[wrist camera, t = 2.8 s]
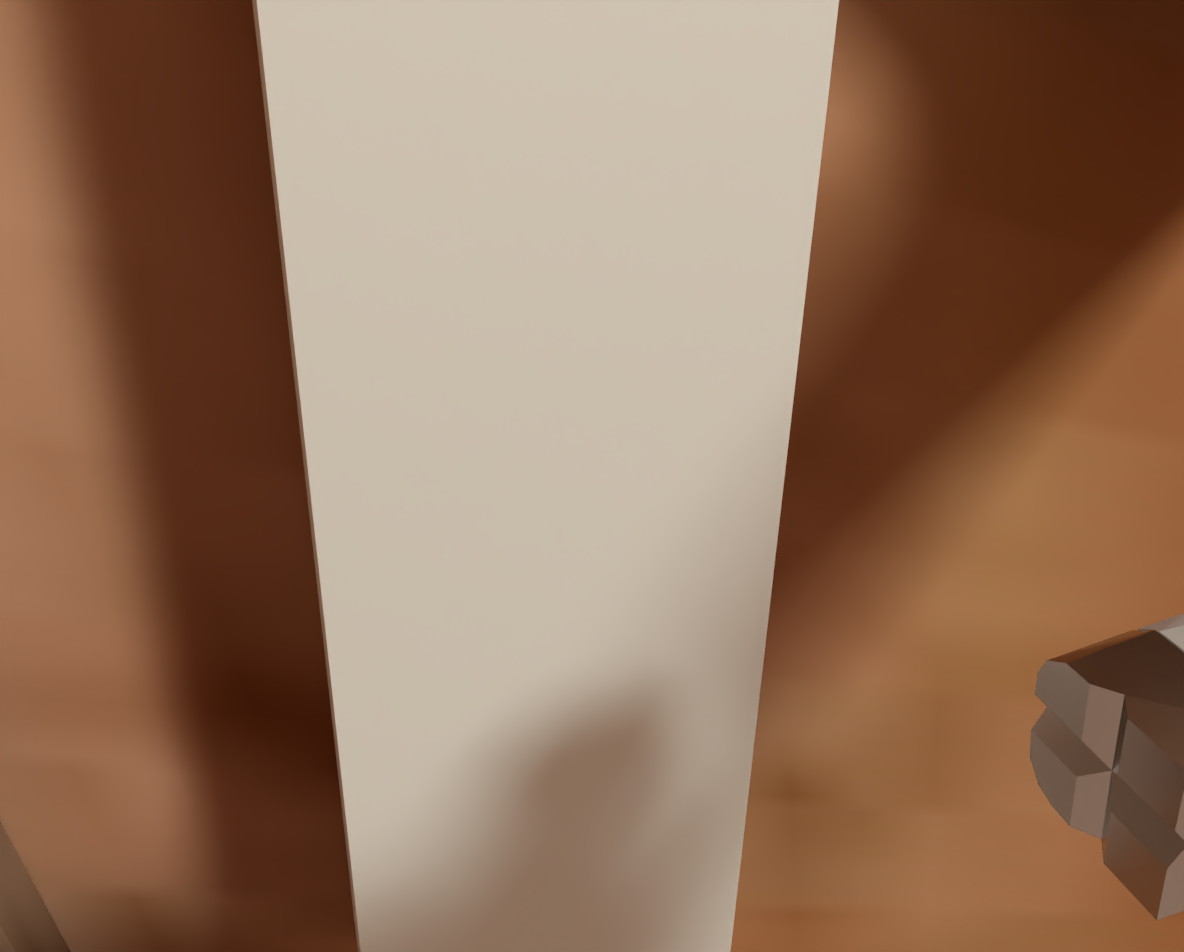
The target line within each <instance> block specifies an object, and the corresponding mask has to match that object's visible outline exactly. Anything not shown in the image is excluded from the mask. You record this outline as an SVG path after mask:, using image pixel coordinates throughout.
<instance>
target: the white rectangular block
mask: <svg viewBox="0 0 1184 952" xmlns="http://www.w3.org/2000/svg"><path fill="white" fill-rule="evenodd" d="M252 5H253V14H254V23H255V32H256V41H257V50H258V59H259V68H260V77H261V86H262V95H263V104H264V113H265V122H266V131H267V140H268V149H269V158H270V167H271V176H272V185H273V194H274V203H275V212H276V221H277V230H278V239H279V248H280V257H281V266H282V275H283V284H284V293H285V302H286V311H287V320H288V329H289V338H290V347H291V356H292V365H293V374H294V383H295V392H296V401H297V410H298V419H299V428H300V437H301V446H302V455H303V464H304V473H305V482H306V491H307V500H308V509H309V518H310V527H311V536H312V545H313V554H314V563H315V572H316V581H317V590H318V599H319V608H320V617H321V626H322V635H323V644H324V653H325V662H326V671H327V680H328V689H329V698H330V707H331V716H332V725H333V734H334V743H335V752H336V761H337V770H338V779H339V788H340V797H341V806H342V815H343V824H344V833H345V842H346V851H347V860H348V869H349V878H350V887H351V896H352V905H353V914H354V923H355V932H356V941H357V949H358V952H730V950H731V942H732V933H733V924H734V915H735V907H736V898H737V889H738V880H739V872H740V863H741V854H742V845H743V837H744V828H745V819H746V810H747V802H748V793H749V784H750V775H751V767H752V758H753V749H754V740H755V732H756V723H757V714H758V705H759V697H760V688H761V679H762V670H763V662H764V653H765V644H766V635H767V627H768V618H769V609H770V601H771V592H772V583H773V574H774V566H775V557H776V548H777V539H778V531H779V522H780V513H781V504H782V496H783V487H784V478H785V469H786V461H787V452H788V443H789V434H790V426H791V417H792V408H793V399H794V391H795V382H796V373H797V364H798V356H799V347H800V338H801V329H802V321H803V312H804V303H805V294H806V286H807V277H808V268H809V259H810V251H811V242H812V233H813V225H814V216H815V207H816V198H817V190H818V181H819V172H820V163H821V155H822V146H823V137H824V128H825V120H826V111H827V102H828V93H829V85H830V76H831V67H832V58H833V50H834V41H835V32H836V23H837V15H838V6H839V0H252Z"/></svg>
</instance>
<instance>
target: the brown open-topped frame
mask: <svg viewBox="0 0 1184 952" xmlns="http://www.w3.org/2000/svg"><path fill="white" fill-rule="evenodd" d="M0 952H70V951H69V949H68V947H67V945H66V944H65V942H64V940H63V938H62V936H61V934H60V932H59V931H58V929H57V927H56V925H55V923H54V921H53V919H52V918H51V916H50V914H49V912H48V910H47V908H46V907H45V905H44V903H43V901H42V899H41V897H40V895H39V894H38V892H37V890H36V888H35V886H34V884H33V883H32V881H31V879H30V877H29V875H28V873H27V871H26V870H25V868H24V866H23V864H22V862H21V860H20V859H19V857H18V855H17V853H16V851H15V849H14V847H13V846H12V844H11V842H10V840H9V838H8V836H7V834H6V833H5V831H4V829H3V827H2V825H1V823H0Z"/></svg>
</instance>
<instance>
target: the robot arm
mask: <svg viewBox="0 0 1184 952" xmlns="http://www.w3.org/2000/svg"><path fill="white" fill-rule="evenodd" d="M1035 694H1036V696H1037V697H1038V698H1039V699H1040V700H1041V701H1042V702H1043V703H1044V704H1045V705H1046V706H1047V708H1046V709H1045V711H1044V712H1043V714H1042V715H1041V717H1040V718H1039V719H1038V721H1037V722H1036V724H1035V725H1034V727H1033V728H1032V730H1031V744H1030V759H1031V762H1032V765H1033V768H1034V771H1035V774H1036V778H1037V781H1038V784H1039V786H1040V788H1041V789H1042V791H1043V792H1044V794H1045V796H1046V797H1047V799H1048V801H1049V802H1050V804H1051V806H1052V807H1053V808H1054V809H1055V810H1056V811H1057V812H1058V813H1059V815H1060V816H1061V817H1062V818H1063V819H1064V820H1065V821H1066V822H1067V824H1068V825H1069V826H1070V827H1073V828H1075V829H1078V830H1080V831H1082V832H1085V833H1087V834H1090V835H1092V836H1095V837H1097V838H1100V839H1101V841H1102V851H1103V862H1104V864H1105V865H1106V866H1107V867H1108V868H1109V869H1110V871H1111V872H1112V873H1113V874H1114V875H1115V876H1116V877H1117V878H1118V879H1119V880H1120V881H1121V882H1122V883H1123V885H1124V886H1125V887H1126V888H1127V889H1128V890H1129V891H1130V892H1131V893H1132V894H1133V895H1134V896H1135V897H1136V899H1137V900H1138V901H1139V902H1140V903H1141V904H1142V905H1143V906H1144V907H1145V908H1146V909H1147V910H1148V911H1149V913H1150V914H1151V915H1152V916H1153V917H1154V918H1155V919H1156V920H1159V919H1162V918H1165V917H1167V916H1170V915H1173V914H1176V913H1178V912H1181V911H1184V613H1183V614H1180V615H1178V616H1175V617H1172V618H1169V619H1166V620H1163V621H1160V622H1157V623H1154V624H1151V625H1148V626H1145V627H1142V628H1140V629H1139V630H1132V631H1129V632H1126V633H1123V634H1120V635H1117V636H1115V637H1112V638H1109V639H1106V640H1103V641H1100V642H1098V643H1095V644H1092V645H1089V646H1086V647H1083V648H1080V649H1078V650H1075V651H1072V652H1069V653H1066V654H1063V655H1061V656H1058V657H1055V658H1052V659H1049V660H1046V662H1045V663H1044V665H1043V666H1042V667H1041V669H1040V670H1039V672H1038V674H1037V682H1036V690H1035Z"/></svg>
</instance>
